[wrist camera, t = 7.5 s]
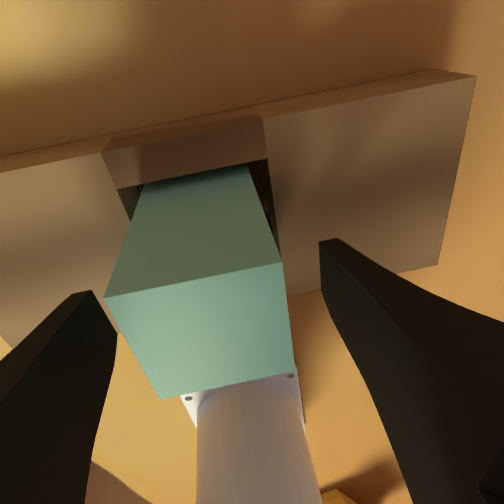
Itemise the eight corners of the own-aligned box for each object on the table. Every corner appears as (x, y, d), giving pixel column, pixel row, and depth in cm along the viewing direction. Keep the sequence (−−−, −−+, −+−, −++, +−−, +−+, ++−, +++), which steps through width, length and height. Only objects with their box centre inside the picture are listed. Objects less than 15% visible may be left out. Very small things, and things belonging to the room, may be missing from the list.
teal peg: (255, 232, 16) (295, 370, 9) (176, 248, 16) (159, 399, 9) (242, 152, 14) (282, 261, 7) (149, 171, 14) (103, 298, 7)
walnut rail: (409, 237, 17) (437, 264, 15) (39, 315, 17) (17, 354, 15) (432, 69, 13) (477, 75, 11) (-71, 171, 13) (-124, 197, 10)
